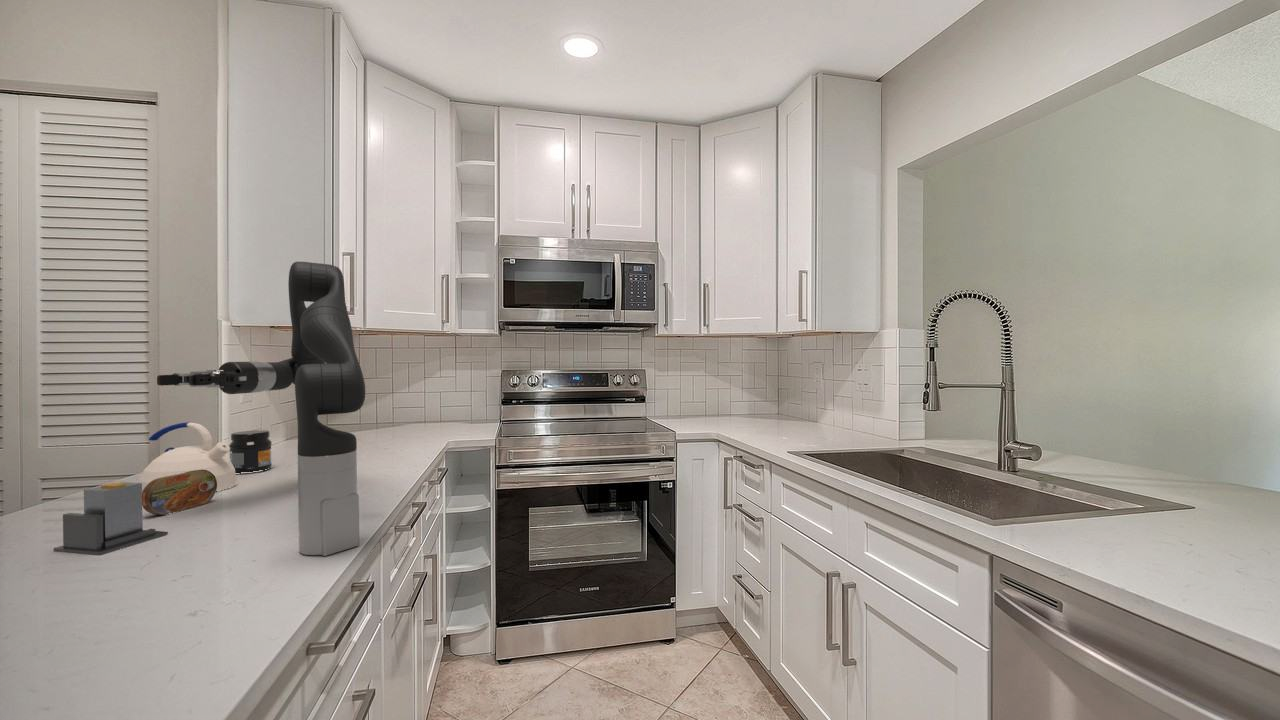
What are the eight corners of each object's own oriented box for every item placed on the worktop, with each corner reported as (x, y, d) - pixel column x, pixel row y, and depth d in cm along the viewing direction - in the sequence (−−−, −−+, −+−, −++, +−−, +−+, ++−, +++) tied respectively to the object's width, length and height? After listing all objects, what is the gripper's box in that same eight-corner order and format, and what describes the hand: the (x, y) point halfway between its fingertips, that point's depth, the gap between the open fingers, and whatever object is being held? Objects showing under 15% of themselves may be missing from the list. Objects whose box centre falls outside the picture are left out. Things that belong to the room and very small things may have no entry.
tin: (149, 519, 113) (149, 480, 113) (138, 519, 114) (137, 480, 114) (218, 501, 128) (218, 466, 128) (208, 500, 129) (207, 466, 129)
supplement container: (280, 467, 167) (279, 429, 167) (252, 475, 156) (252, 434, 156) (249, 467, 168) (249, 429, 168) (220, 474, 157) (219, 434, 157)
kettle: (195, 500, 129) (194, 427, 129) (111, 501, 129) (110, 427, 129) (256, 481, 149) (255, 417, 149) (184, 481, 149) (183, 418, 149)
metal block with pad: (122, 533, 103) (121, 480, 103) (142, 534, 102) (141, 481, 102) (84, 543, 97) (83, 487, 97) (105, 545, 96) (104, 488, 96)
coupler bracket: (125, 530, 106) (124, 498, 106) (167, 534, 103) (167, 501, 103) (53, 550, 95) (53, 514, 95) (99, 555, 93) (99, 518, 93)
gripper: (223, 361, 127) (147, 362, 111) (271, 361, 124) (200, 362, 108) (223, 392, 127) (147, 398, 111) (272, 393, 124) (201, 398, 108)
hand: (174, 380), depth 110 cm, fingers open, 8 cm apart
